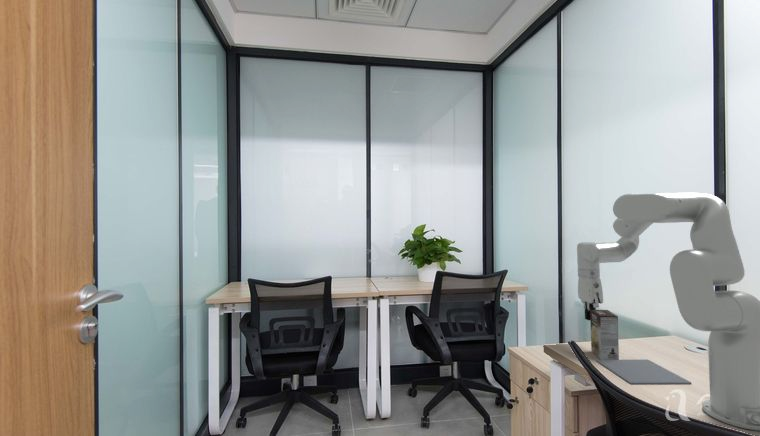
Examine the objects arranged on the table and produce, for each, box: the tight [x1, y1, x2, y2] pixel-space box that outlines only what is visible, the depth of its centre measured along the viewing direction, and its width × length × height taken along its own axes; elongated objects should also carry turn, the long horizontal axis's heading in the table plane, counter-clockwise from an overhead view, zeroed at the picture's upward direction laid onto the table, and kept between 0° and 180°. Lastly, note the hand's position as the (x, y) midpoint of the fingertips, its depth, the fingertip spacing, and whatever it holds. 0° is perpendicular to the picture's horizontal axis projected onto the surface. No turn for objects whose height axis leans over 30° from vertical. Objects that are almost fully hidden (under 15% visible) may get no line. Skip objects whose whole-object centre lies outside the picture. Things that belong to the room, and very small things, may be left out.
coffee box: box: [589, 309, 620, 360], centre depth 129 cm, size 9×6×16 cm
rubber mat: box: [595, 359, 692, 385], centre depth 115 cm, size 18×18×1 cm
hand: (590, 319), depth 138 cm, fingers closed
